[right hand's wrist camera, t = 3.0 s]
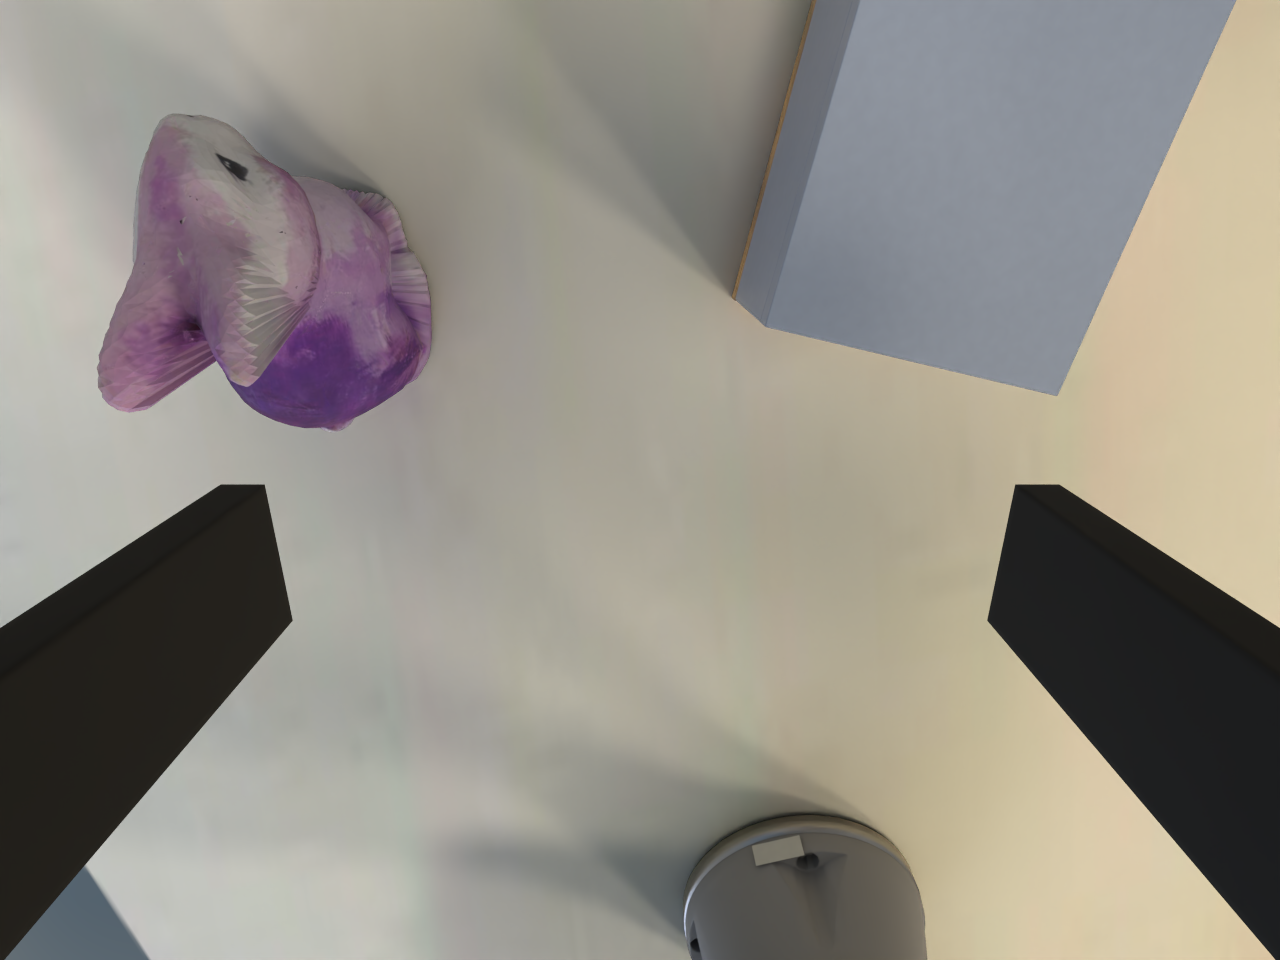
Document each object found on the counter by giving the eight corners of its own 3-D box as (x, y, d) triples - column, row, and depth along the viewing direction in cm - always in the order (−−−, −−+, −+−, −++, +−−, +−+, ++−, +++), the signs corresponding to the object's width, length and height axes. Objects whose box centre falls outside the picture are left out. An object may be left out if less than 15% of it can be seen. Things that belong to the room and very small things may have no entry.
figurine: (338, 121, 30) (72, 39, 16) (493, 318, 33) (384, 396, 19) (189, 257, 32) (-165, 291, 18) (348, 432, 35) (151, 579, 21)
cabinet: (895, -310, 25) (1028, -582, 17) (1172, -222, 26) (1435, -437, 17) (731, 297, 33) (764, 327, 24) (950, 350, 34) (1058, 396, 25)
